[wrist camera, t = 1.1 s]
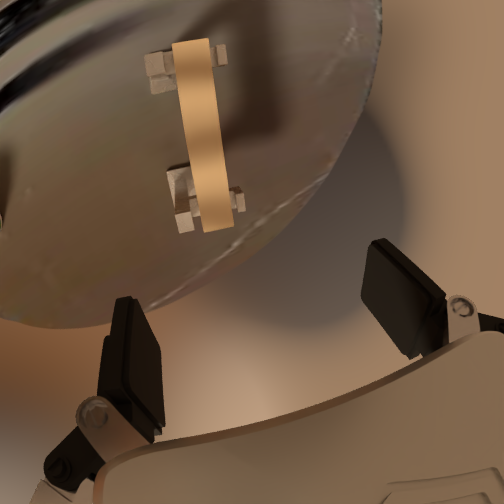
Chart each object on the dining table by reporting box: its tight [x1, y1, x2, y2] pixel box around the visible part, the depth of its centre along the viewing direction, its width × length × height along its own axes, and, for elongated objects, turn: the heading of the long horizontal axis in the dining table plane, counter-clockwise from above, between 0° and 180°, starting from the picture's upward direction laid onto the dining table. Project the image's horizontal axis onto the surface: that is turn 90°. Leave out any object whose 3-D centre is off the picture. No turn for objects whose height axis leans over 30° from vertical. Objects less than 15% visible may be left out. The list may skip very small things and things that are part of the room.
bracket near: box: [144, 44, 228, 95], centre depth 23 cm, size 5×8×11 cm, turn 96°
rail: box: [172, 38, 234, 232], centre depth 24 cm, size 18×3×3 cm, turn 6°
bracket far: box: [167, 165, 246, 233], centre depth 32 cm, size 5×8×11 cm, turn 96°
